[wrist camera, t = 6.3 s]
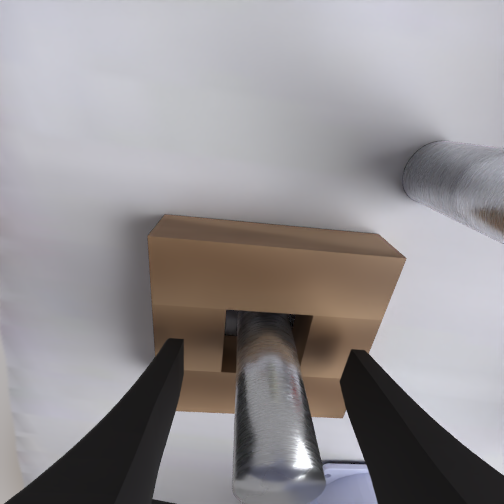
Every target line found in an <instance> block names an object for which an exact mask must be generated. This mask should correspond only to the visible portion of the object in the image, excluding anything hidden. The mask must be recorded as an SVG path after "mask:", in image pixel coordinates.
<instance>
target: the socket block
mask: <svg viewBox="0 0 504 504" xmlns="http://www.w3.org/2000/svg"><path fill="white" fill-rule="evenodd" d="M147 237H148V252H149V268H150V283H151V299H152V314H153V330H154V345H155V356H156V355H157V354H158V352H159V351H160V349H161V348H162V346H163V345H164V343H165V341H166V340H167V339H168V338H177V339H184V376H183V381H182V387H181V392H180V397H179V401H178V404H177V408H176V411H186V412H209V413H233V414H235V389H236V357H237V336H225V335H224V333H225V321H226V309H227V310H242V311H256V312H270V313H285V314H296V316H295V320H294V325H293V329H292V333H293V338H294V342H295V346H296V351H297V355H298V360H299V364H300V369H301V373H302V378H303V382H304V386H305V391H306V395H307V400H308V404H309V409H310V413H311V417H327V418H343V416H344V414H345V411H346V407H345V403H344V399H343V395H342V391H341V386H340V379H341V376H342V373H343V370H344V368H345V365H346V362H347V359H348V356H349V354H350V351H351V349H357V350H365V351H366V352H367V353H368V354H369V351H370V349H371V346H372V344H373V341H374V339H375V336H376V334H377V331H378V329H379V326H380V324H381V321H382V319H383V316H384V314H385V311H386V309H387V306H388V304H389V301H390V299H391V296H392V294H393V291H394V289H395V286H396V284H397V281H398V279H399V276H400V274H401V271H402V269H403V266H404V264H405V261H406V259H407V258H405V257H404V256H403V255H402V254H401V253H400V252H399V251H397V250H396V249H395V248H394V247H393V246H392V245H390V244H389V243H388V242H387V241H386V240H385V239H384V238H382V237H381V236H380V235H379V234H371V233H360V232H349V231H339V230H328V229H317V228H306V227H295V226H285V225H274V224H263V223H252V222H241V221H230V220H220V219H209V218H198V217H187V216H176V215H166V214H165V215H164V216H163V217H162V219H161V220H160V221H159V222H158V224H157V225H156V226H155V227H154V229H153V230H152V231H151V232H150V234H149V235H148V236H147Z"/></svg>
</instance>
